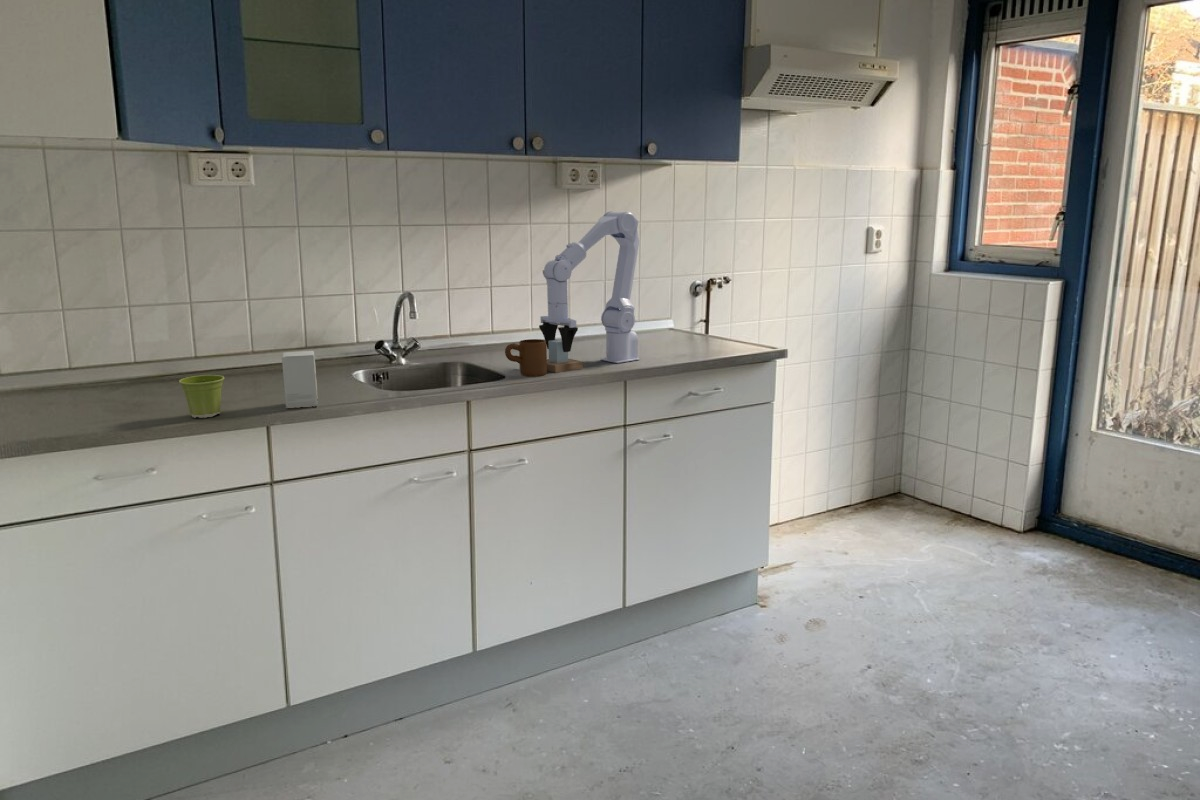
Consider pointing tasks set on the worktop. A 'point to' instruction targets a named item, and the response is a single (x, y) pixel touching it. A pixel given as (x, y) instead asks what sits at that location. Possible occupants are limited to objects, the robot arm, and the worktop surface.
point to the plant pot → (203, 393)
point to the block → (557, 352)
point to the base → (564, 365)
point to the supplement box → (299, 378)
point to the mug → (529, 356)
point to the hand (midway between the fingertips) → (558, 350)
